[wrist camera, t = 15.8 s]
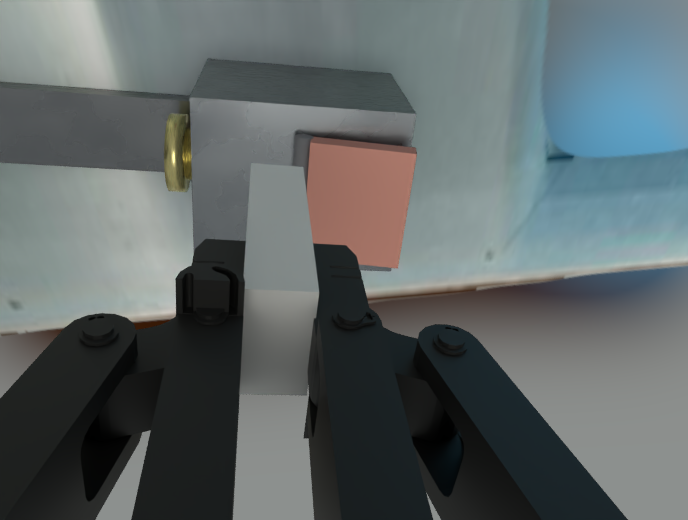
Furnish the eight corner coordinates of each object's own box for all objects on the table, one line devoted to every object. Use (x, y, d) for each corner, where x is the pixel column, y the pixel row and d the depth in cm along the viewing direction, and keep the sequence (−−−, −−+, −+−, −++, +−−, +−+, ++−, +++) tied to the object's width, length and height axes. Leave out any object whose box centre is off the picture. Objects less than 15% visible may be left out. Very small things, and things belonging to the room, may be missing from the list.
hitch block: (-26, 187, 42) (-95, 252, 34) (-60, 36, 37) (-149, 72, 29) (372, 208, 46) (391, 271, 38) (390, 73, 41) (416, 114, 33)
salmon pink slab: (286, 256, 35) (397, 268, 35) (293, 140, 32) (416, 154, 32) (288, 246, 36) (396, 257, 36) (295, 132, 33) (415, 145, 33)
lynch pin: (177, 173, 41) (166, 203, 37) (175, 103, 39) (162, 127, 35) (394, 186, 43) (406, 216, 39) (404, 120, 41) (418, 144, 37)
